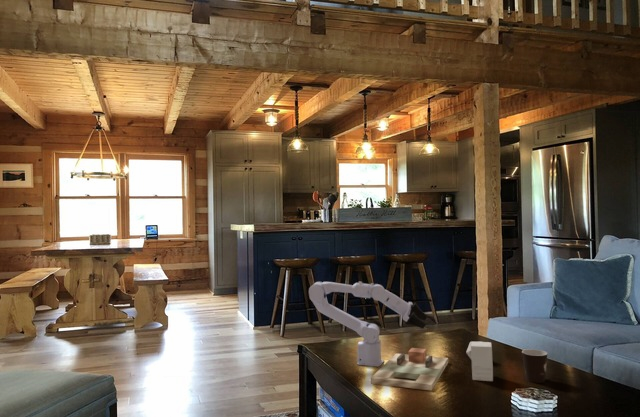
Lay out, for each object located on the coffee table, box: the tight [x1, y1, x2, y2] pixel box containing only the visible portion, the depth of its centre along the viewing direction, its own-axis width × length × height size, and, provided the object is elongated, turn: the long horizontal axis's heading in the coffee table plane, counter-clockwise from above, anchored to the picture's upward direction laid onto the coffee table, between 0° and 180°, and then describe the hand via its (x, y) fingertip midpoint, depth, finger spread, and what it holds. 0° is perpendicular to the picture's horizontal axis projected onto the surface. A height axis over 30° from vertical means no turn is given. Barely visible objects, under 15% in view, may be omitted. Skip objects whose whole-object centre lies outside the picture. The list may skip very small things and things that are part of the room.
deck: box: [370, 353, 449, 391], centre depth 195 cm, size 22×35×4 cm, turn 157°
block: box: [407, 347, 427, 363], centre depth 204 cm, size 6×6×4 cm
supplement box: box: [471, 341, 494, 382], centre depth 187 cm, size 7×7×13 cm
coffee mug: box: [521, 348, 548, 384], centre depth 184 cm, size 12×9×10 cm
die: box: [465, 341, 483, 361], centre depth 208 cm, size 8×9×10 cm
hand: (425, 322), depth 205 cm, fingers open, 7 cm apart
